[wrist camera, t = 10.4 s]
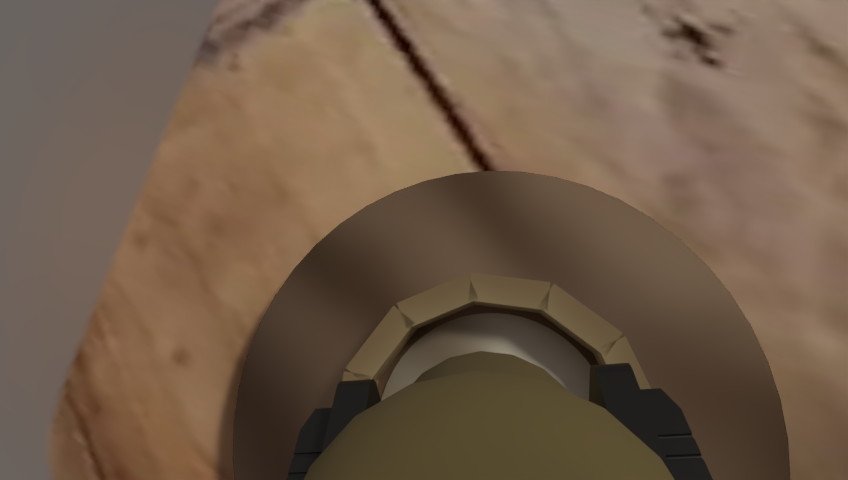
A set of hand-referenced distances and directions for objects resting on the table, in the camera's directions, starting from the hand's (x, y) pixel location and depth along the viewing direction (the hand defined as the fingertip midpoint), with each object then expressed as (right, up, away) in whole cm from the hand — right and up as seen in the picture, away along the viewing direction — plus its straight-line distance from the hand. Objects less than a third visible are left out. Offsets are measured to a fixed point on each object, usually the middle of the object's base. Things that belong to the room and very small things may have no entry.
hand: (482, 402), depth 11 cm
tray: (+1, -4, +10) cm, 10 cm away
